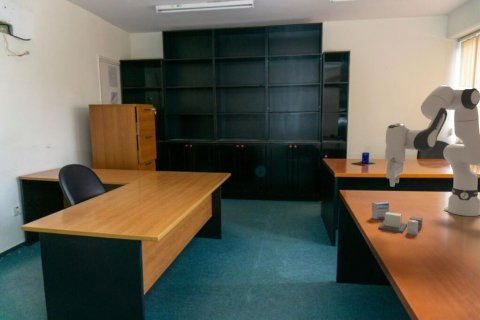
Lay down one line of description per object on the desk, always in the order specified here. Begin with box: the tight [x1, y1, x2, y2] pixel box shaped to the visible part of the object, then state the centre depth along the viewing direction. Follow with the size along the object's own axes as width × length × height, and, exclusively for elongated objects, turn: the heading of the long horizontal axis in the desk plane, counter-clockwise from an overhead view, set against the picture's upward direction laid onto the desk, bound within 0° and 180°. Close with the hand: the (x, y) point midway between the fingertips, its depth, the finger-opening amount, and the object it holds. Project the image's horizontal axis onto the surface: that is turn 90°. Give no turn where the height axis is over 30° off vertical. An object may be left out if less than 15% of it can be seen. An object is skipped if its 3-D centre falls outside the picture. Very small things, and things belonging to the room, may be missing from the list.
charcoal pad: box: [378, 220, 408, 234], centre depth 164 cm, size 12×11×1 cm
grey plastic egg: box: [406, 219, 419, 236], centre depth 155 cm, size 4×4×6 cm
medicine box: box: [371, 201, 390, 221], centre depth 179 cm, size 8×4×9 cm, turn 105°
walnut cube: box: [409, 215, 423, 231], centre depth 163 cm, size 5×5×5 cm
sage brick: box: [384, 211, 403, 228], centre depth 164 cm, size 4×7×6 cm, turn 54°
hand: (394, 184), depth 162 cm, fingers open, 8 cm apart
